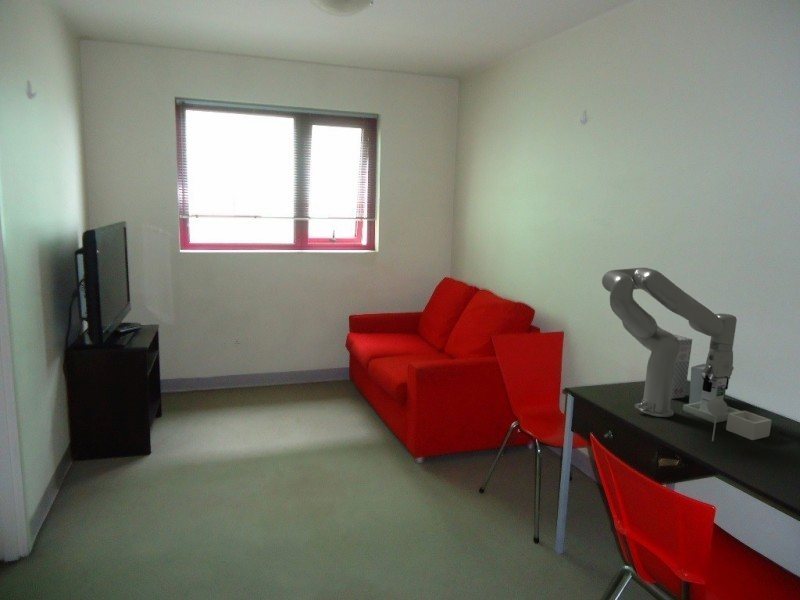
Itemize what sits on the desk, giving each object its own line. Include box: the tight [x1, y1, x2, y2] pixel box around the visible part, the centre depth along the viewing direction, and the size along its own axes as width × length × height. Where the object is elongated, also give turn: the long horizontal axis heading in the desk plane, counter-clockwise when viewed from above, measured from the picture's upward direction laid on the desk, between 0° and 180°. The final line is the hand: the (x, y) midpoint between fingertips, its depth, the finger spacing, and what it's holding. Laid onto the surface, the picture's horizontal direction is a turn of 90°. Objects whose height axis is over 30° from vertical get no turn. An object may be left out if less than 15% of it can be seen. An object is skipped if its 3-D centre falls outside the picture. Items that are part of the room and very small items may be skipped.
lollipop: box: [708, 398, 728, 442], centre depth 185 cm, size 6×6×15 cm
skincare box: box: [688, 362, 706, 404], centre depth 226 cm, size 21×6×16 cm, turn 128°
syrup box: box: [700, 376, 727, 415], centre depth 211 cm, size 6×6×14 cm
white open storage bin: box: [725, 410, 773, 441], centre depth 195 cm, size 10×10×6 cm
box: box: [671, 334, 693, 400], centre depth 231 cm, size 8×8×25 cm
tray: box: [682, 402, 741, 424], centre depth 212 cm, size 16×13×2 cm
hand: (714, 389), depth 211 cm, fingers open, 9 cm apart
